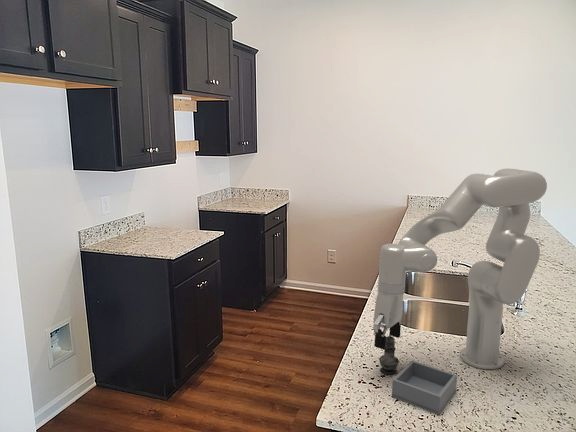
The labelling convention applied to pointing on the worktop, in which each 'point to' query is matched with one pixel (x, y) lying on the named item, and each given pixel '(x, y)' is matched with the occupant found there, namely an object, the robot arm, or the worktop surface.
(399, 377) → the bin
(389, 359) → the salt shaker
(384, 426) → the worktop surface
